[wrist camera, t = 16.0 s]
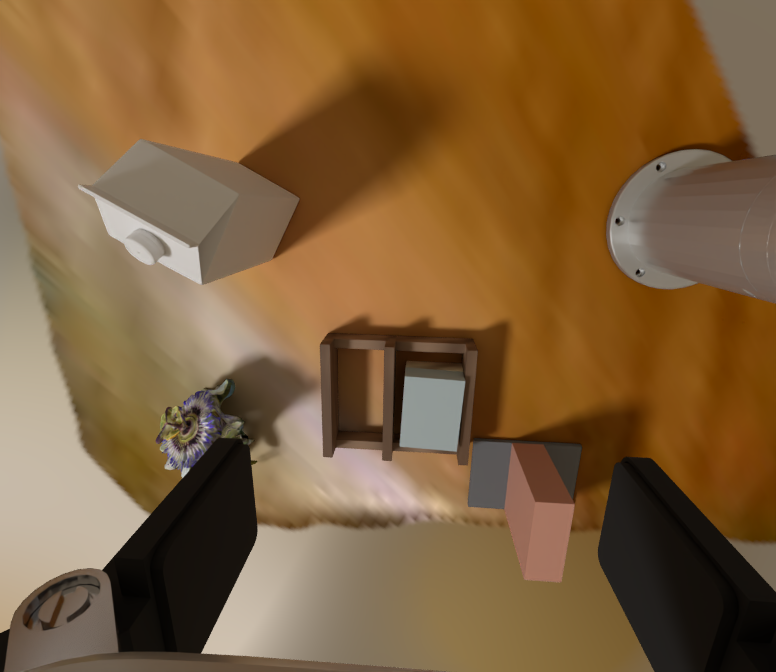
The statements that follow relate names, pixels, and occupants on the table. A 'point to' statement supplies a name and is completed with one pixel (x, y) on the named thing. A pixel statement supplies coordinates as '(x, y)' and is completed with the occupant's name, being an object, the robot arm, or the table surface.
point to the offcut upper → (432, 409)
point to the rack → (389, 391)
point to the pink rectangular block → (538, 512)
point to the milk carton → (191, 211)
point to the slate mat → (494, 469)
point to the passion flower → (198, 427)
